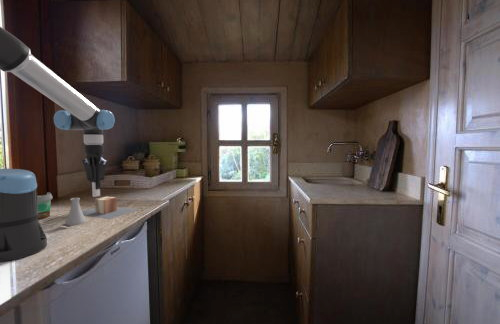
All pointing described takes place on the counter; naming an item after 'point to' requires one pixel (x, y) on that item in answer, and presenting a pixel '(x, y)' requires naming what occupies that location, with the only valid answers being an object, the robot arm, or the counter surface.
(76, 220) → the flask
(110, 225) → the counter surface
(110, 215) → the rubber mat
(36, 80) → the robot arm
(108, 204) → the birch cube
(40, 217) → the food container
